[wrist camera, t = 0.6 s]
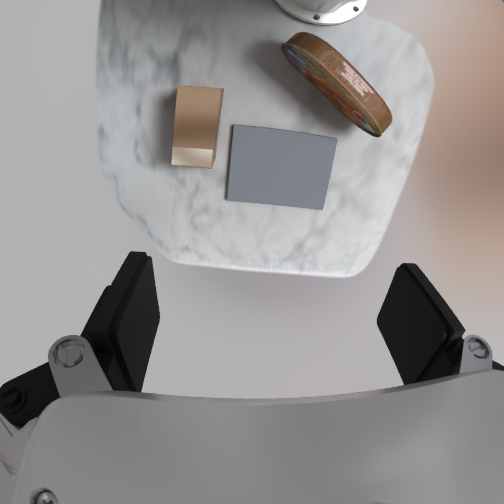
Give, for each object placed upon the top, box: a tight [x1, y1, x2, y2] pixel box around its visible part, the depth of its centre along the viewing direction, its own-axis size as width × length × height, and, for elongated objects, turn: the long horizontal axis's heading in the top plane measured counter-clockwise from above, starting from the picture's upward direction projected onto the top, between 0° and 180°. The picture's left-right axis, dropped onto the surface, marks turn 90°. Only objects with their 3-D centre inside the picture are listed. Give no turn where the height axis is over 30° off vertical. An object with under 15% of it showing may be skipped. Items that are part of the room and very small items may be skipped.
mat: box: [227, 125, 337, 210], centre depth 36 cm, size 10×13×1 cm
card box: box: [171, 86, 224, 169], centre depth 31 cm, size 9×4×6 cm, turn 172°
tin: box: [281, 32, 392, 137], centre depth 27 cm, size 15×3×8 cm, turn 49°
